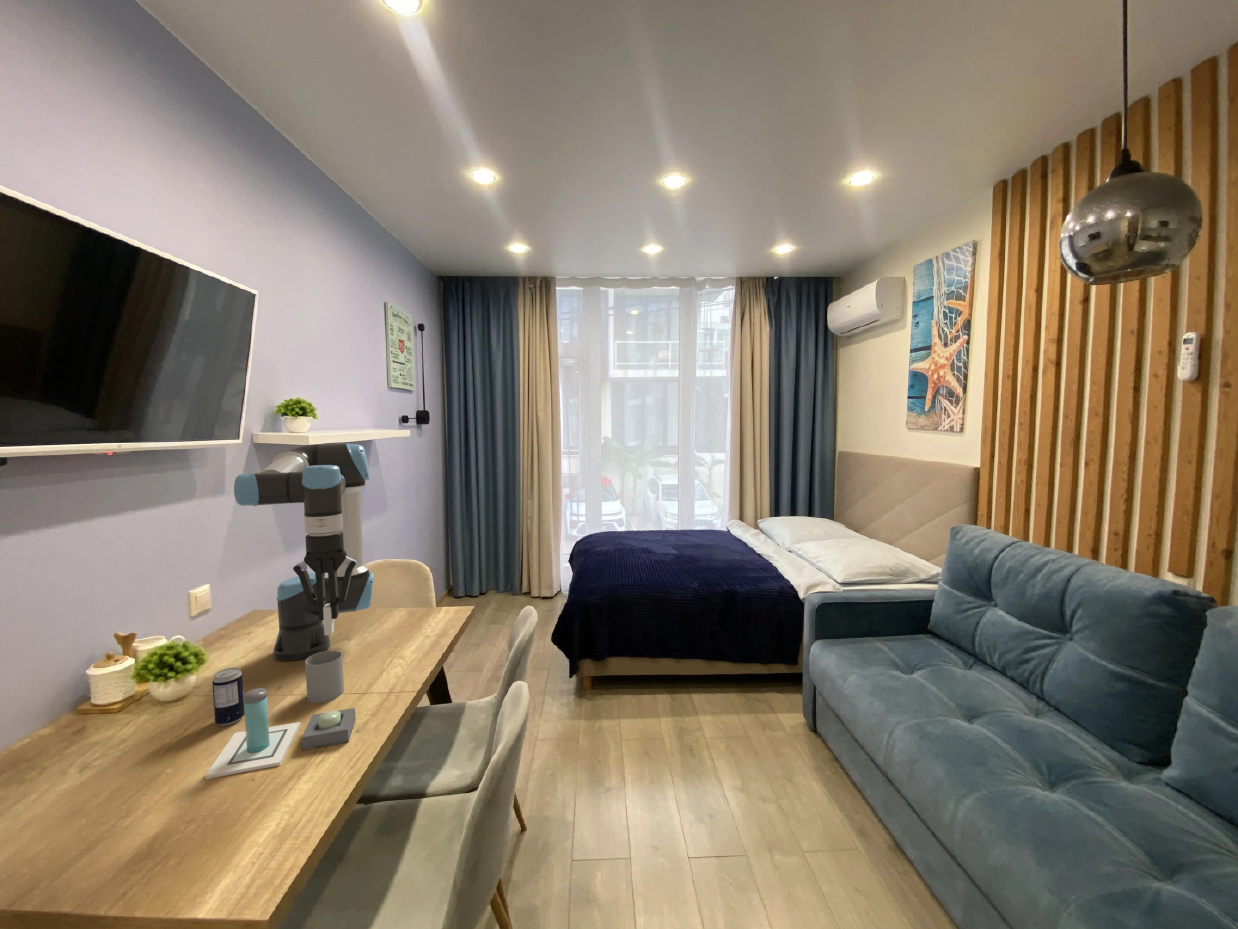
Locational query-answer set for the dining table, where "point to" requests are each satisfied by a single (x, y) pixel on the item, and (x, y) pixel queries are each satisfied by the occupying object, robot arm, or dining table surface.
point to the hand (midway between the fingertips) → (329, 632)
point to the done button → (329, 719)
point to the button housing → (328, 731)
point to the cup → (324, 676)
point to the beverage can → (228, 696)
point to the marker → (256, 720)
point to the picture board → (242, 761)
